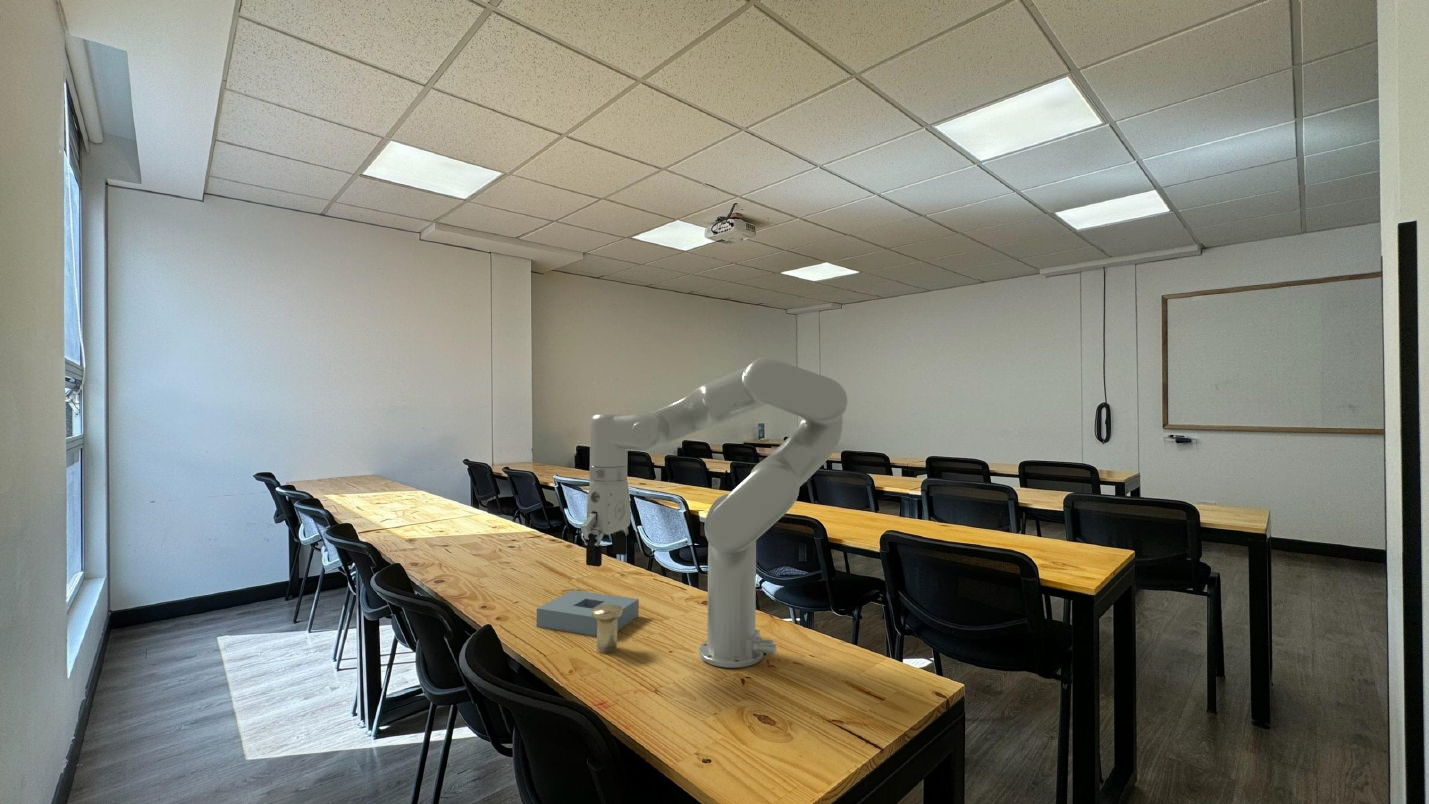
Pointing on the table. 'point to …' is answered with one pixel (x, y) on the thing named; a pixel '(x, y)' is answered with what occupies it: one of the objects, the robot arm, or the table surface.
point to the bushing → (607, 627)
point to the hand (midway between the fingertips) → (607, 559)
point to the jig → (583, 612)
